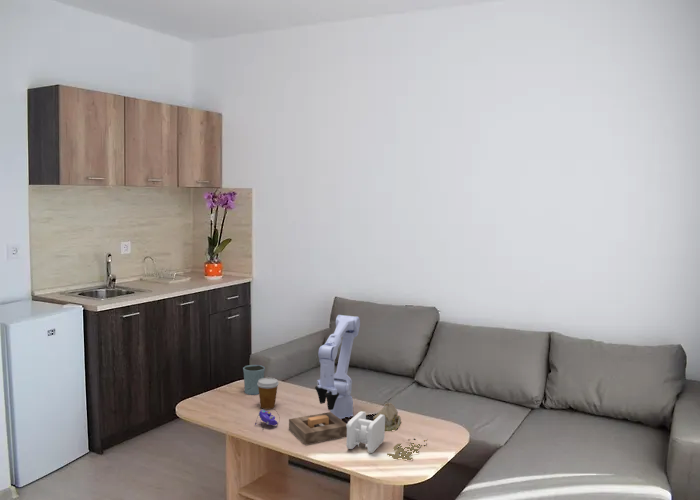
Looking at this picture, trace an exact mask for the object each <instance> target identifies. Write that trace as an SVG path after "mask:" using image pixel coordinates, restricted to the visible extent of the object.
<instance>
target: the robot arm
mask: <svg viewBox="0 0 700 500" xmlns="http://www.w3.org/2000/svg"><path fill="white" fill-rule="evenodd" d="M360 319H361V318H360V317H359V316H358V315H357V316H353V315H345V314H344V315H343V314H337V316H336V318H335V330H334V331H333V333H331V334H329V336H328V338H326V339H327V340H326V341H325V343H324V344H322V345H320V347H319V348H318V352H317V353H318V354H317V355H318V359H319V360H318V362H319V365H320V367H319V369H320V372H319V373H320V374H319V375H320V377H319V379H317V380H316V384H317V386H315V387H314V389H315V390H316V393H317V395H318V401H319V404H320V405H321V404H325V403H326V401H327V404H326V405H327V410H328V411H329V412H331V413H333V414H334V415H335V416H337V417H338V418H339V419H341V420H342V419H346V418H345V417H348V418H351V417H350V416H353V417H354V416H355V415H354V400H353V397H352V395H351V393H352V389H353V386H352V385H353V380H352V378H351V377H350V376H349V375H348V370H349V365H350V361H351V354H352V349H353V343H354V340H355V338H356V337H358V335H359V332H360V327H361V320H360ZM339 348H340V351H339V350H338V349H339ZM338 352H339V355H338ZM337 355H338V359H337V360H338V361H337V362H338V363H337V366H336V372H335V360H336V358H337Z"/></svg>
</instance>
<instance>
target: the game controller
mask: <svg viewBox="0 0 700 500" xmlns="http://www.w3.org/2000/svg"><path fill="white" fill-rule="evenodd" d="M273 410H274V411H276V412H277V415H278V416H280V414H279V413H278V411H277V410H276V409H275V408H273ZM258 416H259V417H258ZM258 416H257V418H256V421H255V423H254V425H255V426H256V425H257V421H258V418H260V421H261V422H264V424H265V425H268V426H277V425H278V424H279V423H280V417H279V420H278V421H277V420H276V417H275V415H272V412H271V411H267V410H266V409H263V408H261V409H260V411H259V412H258ZM260 424H261V426H262V428H261V429H262V431H264V430H265V429H264V428H265V426H263V425H262V424H263V423H260Z"/></svg>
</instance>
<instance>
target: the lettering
mask: <svg viewBox="0 0 700 500" xmlns="http://www.w3.org/2000/svg"><path fill="white" fill-rule="evenodd" d="M401 444H402V443H396V444H395V445H394V446H393V448H392V449H394V450H393V451H395V452H394V453H389V452H387V453H386V455H387V456H388V455H389V456H388V457H390V456H392V457H391V458H392V460H393V459H398V458H402V459H407V460H411V459H413V460H414V457H412V455H413V454H412V452H408V453H407V451H409V450H407V451H404V449H405V448H407V449H410V451H412V450H414V451H413V453H414V452H415V451H416V453H419V452H420V448H419V446H420V444H418V445H419V446H418V445H414V446H413V445H412V444H414V443H411V446H412V447H411V448H410V447H405V448H404V449H403V448H401V447H402V446H400V445H401ZM408 445H409V446H410V444H408ZM398 446H400V447H399V448H397V447H398ZM414 447H417V448H419V449H414ZM396 449H397V450H396ZM418 450H419V452H417V451H418ZM400 452H402V453H400ZM399 453H400V454H399ZM406 453H407V454H406ZM398 454H399V455H398ZM411 454H412V455H411ZM419 454H420V453H419ZM400 455H401V456H400ZM410 455H411V456H410ZM404 456H405V457H404ZM409 456H410V457H409ZM398 460H399V459H398Z"/></svg>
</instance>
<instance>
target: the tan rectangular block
mask: <svg viewBox="0 0 700 500" xmlns="http://www.w3.org/2000/svg"><path fill="white" fill-rule="evenodd" d="M321 423H322V424H323V425H329V417H328V416H327V415H321V416H316V417H310V418H308V427H309V428H314V425H315V424H321Z"/></svg>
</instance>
